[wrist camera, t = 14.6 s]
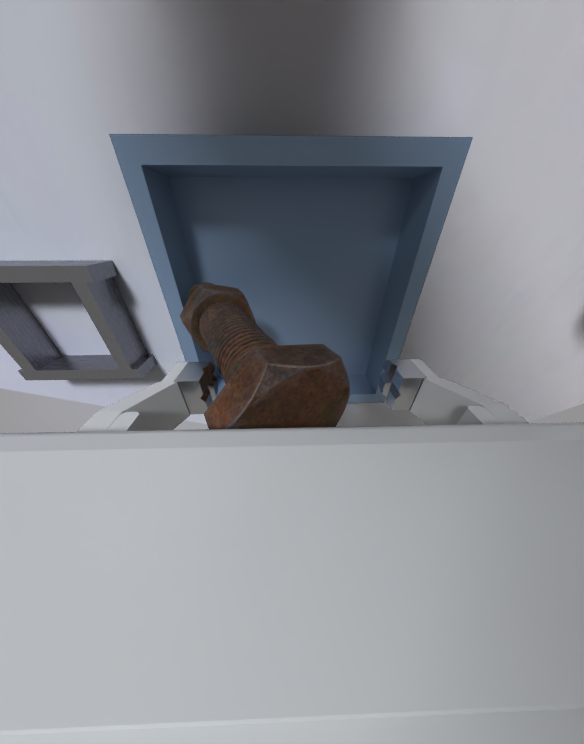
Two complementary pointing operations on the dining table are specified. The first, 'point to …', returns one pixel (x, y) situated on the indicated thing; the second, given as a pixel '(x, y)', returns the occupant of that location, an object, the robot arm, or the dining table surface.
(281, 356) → the bolt
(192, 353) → the tray
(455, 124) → the dining table surface
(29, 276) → the bracket
